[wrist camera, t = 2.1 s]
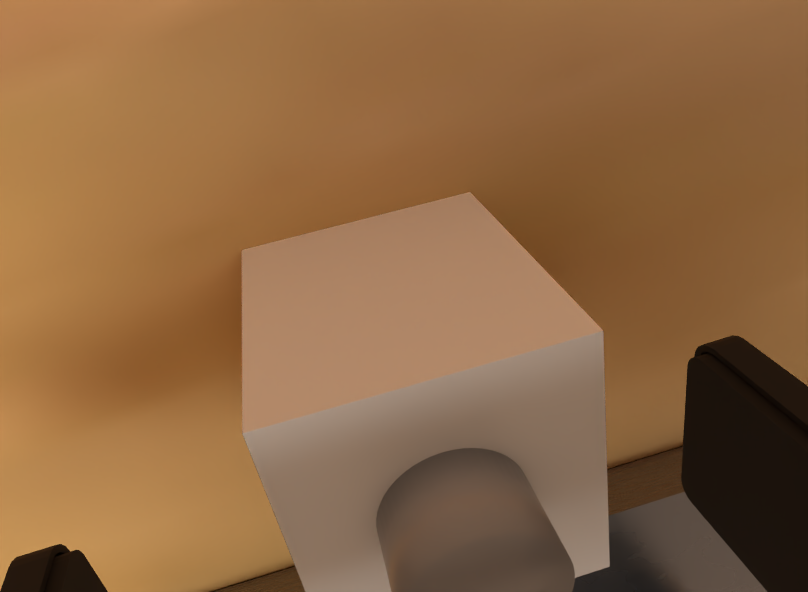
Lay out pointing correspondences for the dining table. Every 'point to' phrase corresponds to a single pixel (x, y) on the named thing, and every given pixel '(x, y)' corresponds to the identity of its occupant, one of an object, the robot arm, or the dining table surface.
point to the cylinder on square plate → (633, 540)
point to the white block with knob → (424, 406)
